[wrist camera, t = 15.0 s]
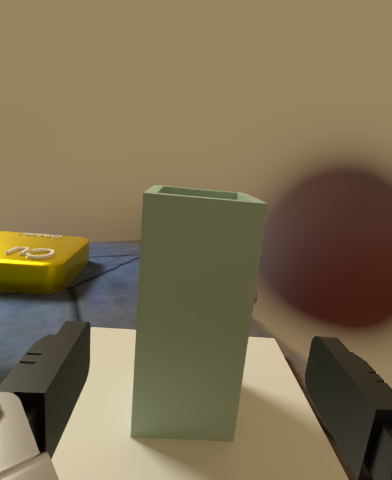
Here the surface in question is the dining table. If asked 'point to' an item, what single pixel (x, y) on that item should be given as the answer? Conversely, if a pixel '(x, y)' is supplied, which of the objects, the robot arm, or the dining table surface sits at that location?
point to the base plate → (193, 451)
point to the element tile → (40, 262)
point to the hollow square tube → (194, 310)
